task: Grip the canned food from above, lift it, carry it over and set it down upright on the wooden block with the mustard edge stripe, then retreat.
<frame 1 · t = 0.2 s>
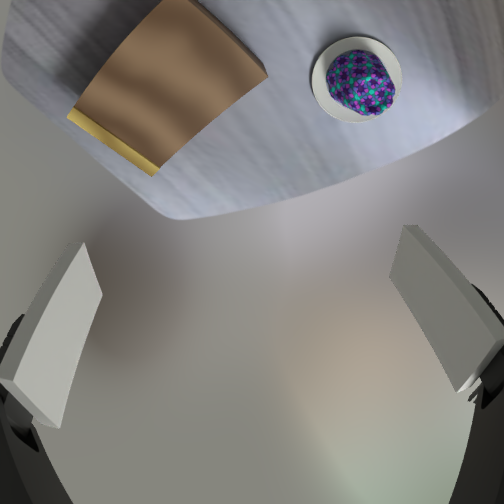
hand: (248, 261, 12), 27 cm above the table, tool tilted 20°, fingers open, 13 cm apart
pudding: (356, 78, 31), on the table
wooden block: (165, 77, 29), on the table
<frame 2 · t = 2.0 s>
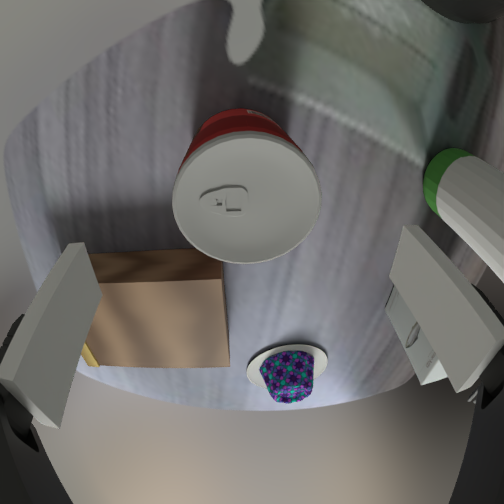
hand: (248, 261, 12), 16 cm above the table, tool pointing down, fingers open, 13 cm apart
pudding: (286, 364, 43), on the table
supplement box: (412, 285, 36), on the table
wine bottle: (445, 177, 27), on the table
wooden block: (146, 298, 33), on the table
canned food: (239, 150, 25), on the table
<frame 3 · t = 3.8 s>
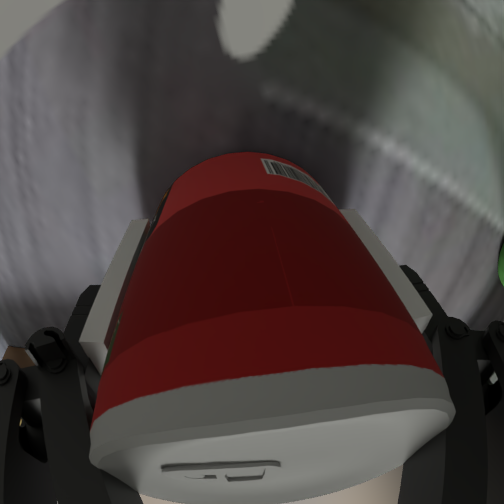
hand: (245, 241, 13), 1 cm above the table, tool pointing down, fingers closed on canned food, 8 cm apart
wooden block: (122, 399, 22), on the table
canned food: (243, 224, 14), on the table, touching gripper
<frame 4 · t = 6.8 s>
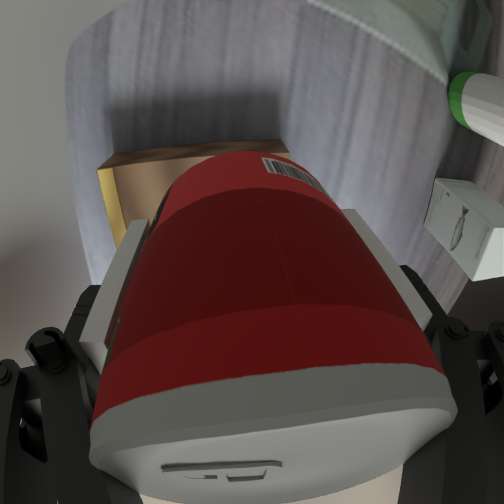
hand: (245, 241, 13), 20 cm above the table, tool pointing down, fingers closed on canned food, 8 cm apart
supplement box: (446, 201, 36), on the table
wine bottle: (464, 98, 27), on the table
wooden block: (199, 200, 33), on the table
canned food: (244, 224, 14), point 19 cm above the table, touching gripper
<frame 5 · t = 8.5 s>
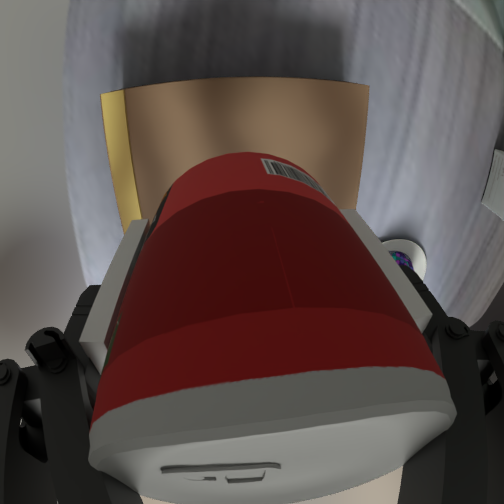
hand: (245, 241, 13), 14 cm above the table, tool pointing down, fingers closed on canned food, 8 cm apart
pudding: (382, 277, 34), on the table
supplement box: (501, 178, 27), on the table
wooden block: (235, 153, 24), on the table
canned food: (243, 224, 14), point 12 cm above the table, touching gripper
when the fingers open (8 cm above the table, at t = 10.0 s): canned food drops 1 cm, resting on wooden block.
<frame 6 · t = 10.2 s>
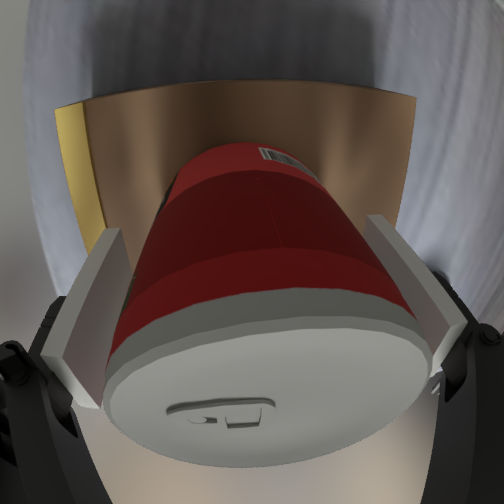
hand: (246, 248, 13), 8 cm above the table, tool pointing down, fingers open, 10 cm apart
wooden block: (237, 178, 19), on the table
canned food: (243, 210, 15), point 5 cm above the table, touching wooden block
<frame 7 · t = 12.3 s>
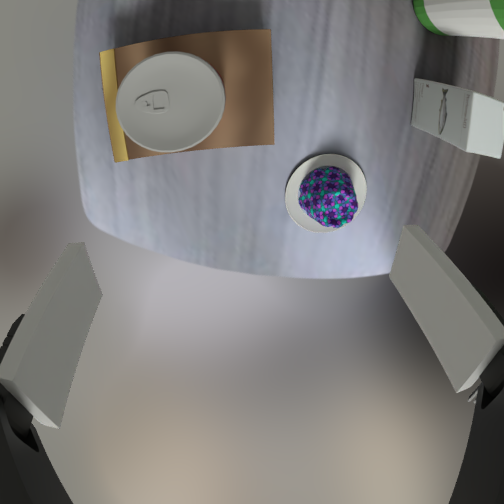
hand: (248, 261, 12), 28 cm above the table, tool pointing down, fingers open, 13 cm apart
pudding: (325, 192, 42), on the table
supplement box: (430, 104, 34), on the table
wine bottle: (430, 11, 26), on the table
wooden block: (190, 90, 32), on the table
canned food: (186, 92, 28), point 5 cm above the table, touching wooden block
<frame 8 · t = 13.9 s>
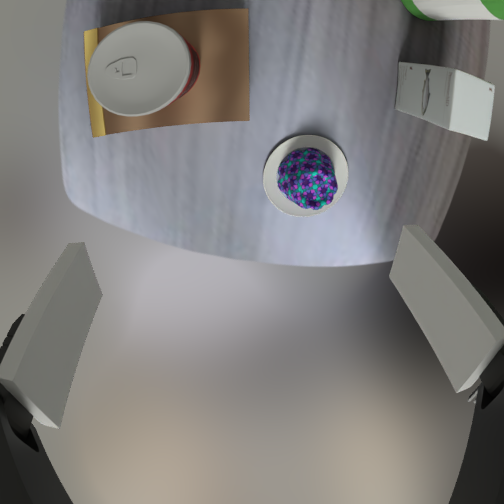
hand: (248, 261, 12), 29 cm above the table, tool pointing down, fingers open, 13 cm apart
pudding: (305, 175, 41), on the table
supplement box: (415, 89, 34), on the table
wooden block: (170, 69, 31), on the table
canned food: (163, 68, 27), point 5 cm above the table, touching wooden block
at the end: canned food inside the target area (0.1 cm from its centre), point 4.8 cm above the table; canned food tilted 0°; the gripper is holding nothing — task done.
